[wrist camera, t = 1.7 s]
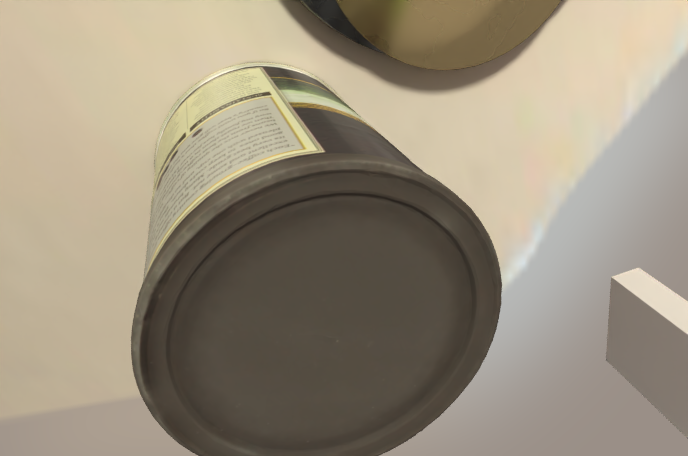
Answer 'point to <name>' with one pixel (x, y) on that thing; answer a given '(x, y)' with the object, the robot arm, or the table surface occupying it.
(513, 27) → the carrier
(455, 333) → the coffee can
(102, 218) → the table surface
